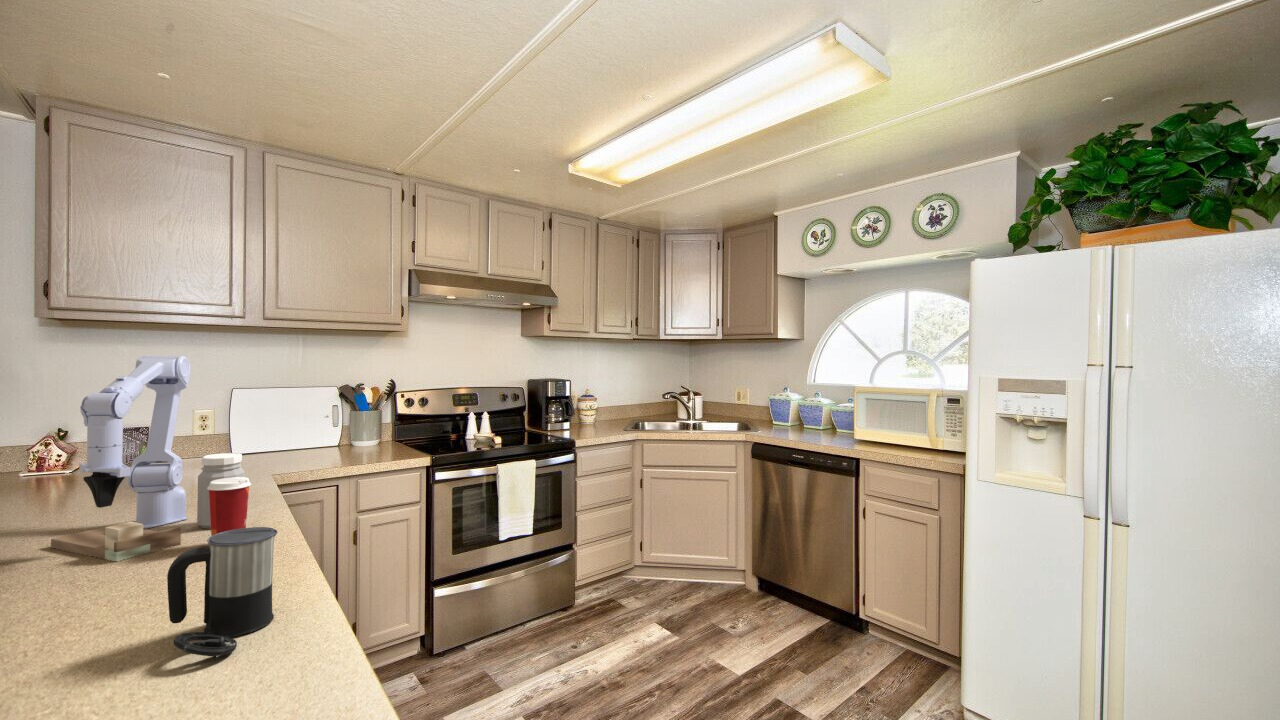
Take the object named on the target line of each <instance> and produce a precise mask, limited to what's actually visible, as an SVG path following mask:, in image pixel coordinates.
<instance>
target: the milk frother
mask: <svg viewBox="0 0 1280 720" xmlns="http://www.w3.org/2000/svg"><path fill="white" fill-rule="evenodd" d="M277 534H278V530H277V529H275V528H273V527H267V526H266V527H265V526H253V527H246V528H242V529H235V530H230V531H225V532H222V533H218V534H215V535H213V536H211V535H210V536H209V537H208V538H207V539H206V542H207V543H208V544H209V545H204V546H199V547H193V548H190V549H188V550H185V551H184V552H182V553H181V554H179V555H178V556H177V557H176V558H175V559H174V560H173V562H172V563H171V564H170V567H169V569H168V571H167V575H166V580H167V581H166V583H167V597H168V598H167V601H168V603H167V604H168V611H169V612H168V616H169V617H168V618H169V621H170V623H172V624H179V623H181V622H183V621H184V619H185V618H186V617H187V614H188V606H187V605H188V604H187V603H188V601H187V598H188V597H187V573H186V572H187V569H188V568H189V567H190V566H191V565H192V564H195V563H203V562H205V572H204V573H205V578H204V606H203V607H204V612H203V623H204V624H205V627H204V629H203V631H201V632H200V631H196V632H188V633H187V632H184V633H181V634H178V635H176V636H175V638H174V639H173V641H172V644H173V646H174V647H175V648H177V649H179V650H181V651H183V652H186V653H188V654H192V655H196V656H204V657H213V660H215V658H216V659H217V657H218V656H219V657H220V656H225V655H228V654H230V653H232V652H234V651H235V650H236V648H237V647H238V646H237V644H238V643H237V640H235V639H234V638H233V637H238V636H239V637H240V636H244V635H247V633H248V634H250V633H253V631H254V632H256V631H258V630H261V629H263V628H265V627H266V626H268V625H269V624H270V623H272V621H274V619H275V615H274V613H273V578H274V577H273V574H274V573H273V572H274V546H275V537H276V535H277ZM267 624H268V625H267ZM264 626H265V627H264ZM262 627H263V628H262ZM260 628H261V629H260ZM243 634H244V635H243Z"/></svg>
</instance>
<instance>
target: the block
mask: <svg viewBox="0 0 1280 720" xmlns="http://www.w3.org/2000/svg"><path fill="white" fill-rule="evenodd" d="M135 522H136V521H128V522H124V523H119V524H118V523H117V524H118V525H116V524H113V525H114V526H112V525H108V526H109V527H107V526H104V527H105V548H107V549H111V550H114V542H118V541H122V540H126V539H130V538H134V537H138V536H142V535H143V530H144V528H143V524H140V523H135Z"/></svg>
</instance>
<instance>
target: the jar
mask: <svg viewBox="0 0 1280 720" xmlns="http://www.w3.org/2000/svg"><path fill="white" fill-rule="evenodd" d="M242 461H243V454H242V453H238V452H225V453H214V454H207V455H204V456H203V457H201V465H203V467H201V468H200V469H201V470H202V471H201V472H200V473H199V474H198V476H197V500H196V501H197V503H196V505H197V509H196V510H197V512H196V523H197V524H196V525H199V527H200V528H202V529H208V530H209V529H210V530H211V520H210V501H209V490H208V489H207V488H208V487H209V484H210V482H211V481H214V480H217V479H223V478H232V477H246V472H245V470H244V469H243V468H242V464H241V462H242Z"/></svg>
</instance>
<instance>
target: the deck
mask: <svg viewBox="0 0 1280 720" xmlns="http://www.w3.org/2000/svg"><path fill="white" fill-rule="evenodd" d="M114 525H118V523H117V524H112V525H111V526H114ZM109 526H110V525H108V526H104V527H99V528H94V529H89V530H85V531H81V532H76V533H72V534H67V535H63V536H62V535H61V536H58V537H53V538H51V539H50V548H51V549H54V548H56V549H55V550H59V549H61V550H60V551H64V550H66V551H65V552H68V551H70V552H69V553H73V552H75V553H74V554H78V553H79V554H78V555H82V554H84V556H87V555H88V557H91V556H94V557H93V558H96V557H98V558H97V559H101V558H103V559H102V560H105V559H108V560H107V561H110V560H113V561H112V562H115V561H118V562H121V561H120V560H122V561H124V560H123V559H125V560H128V559H127V558H129V559H131V557H133V558H135V557H134V556H136V557H140V556H143V555H142V554H144V555H146V554H145V553H147V554H150V553H149V552H151V553H154V552H157V551H156V550H158V551H161V550H160V549H162V550H164V549H163V548H165V549H169V548H172V547H171V546H173V547H176V546H180V545H181V544H182V542H181V541H182V539H181V538H182V535H181V534H182V528H181V526H175V527H171V528H168V529H167V528H166V529H163V530H159V531H156V530H150V529H145V528H144V529H143V535H142V536H138V537H134V538H130V539H126V540H122V541H118V542H114V550H111V549H107V548H105V527H109ZM168 547H169V548H168ZM153 551H154V552H153ZM139 555H140V556H139Z"/></svg>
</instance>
